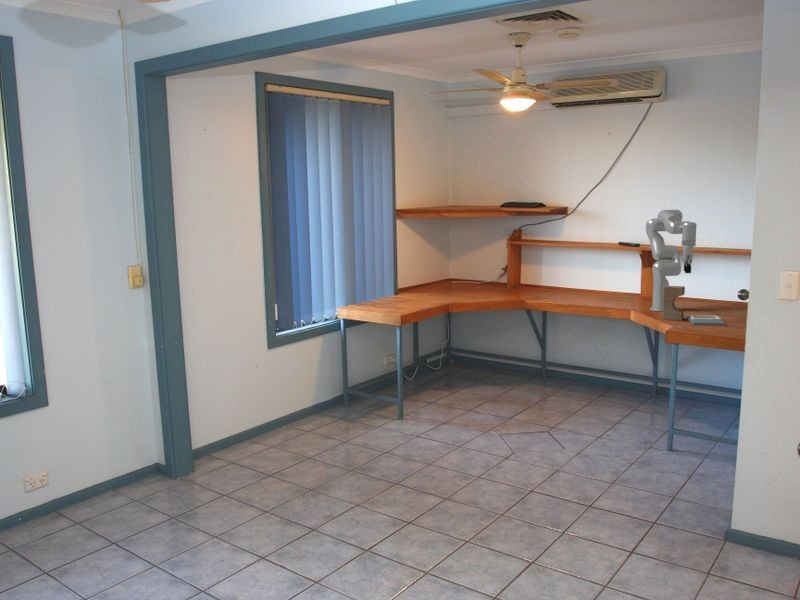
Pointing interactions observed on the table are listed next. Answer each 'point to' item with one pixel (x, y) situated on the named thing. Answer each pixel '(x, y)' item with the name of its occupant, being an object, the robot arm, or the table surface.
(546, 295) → the table surface
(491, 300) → the table surface
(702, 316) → the board
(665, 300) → the decorative block
